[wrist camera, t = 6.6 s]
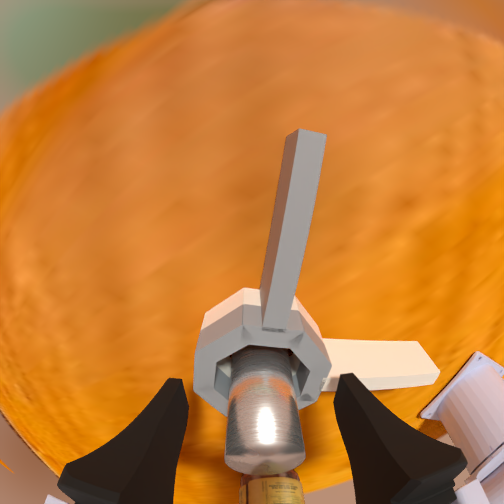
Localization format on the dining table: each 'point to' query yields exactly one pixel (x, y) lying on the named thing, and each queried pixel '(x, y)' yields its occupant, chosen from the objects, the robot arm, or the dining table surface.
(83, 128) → the dining table surface
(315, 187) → the hinge
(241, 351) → the hinge pin
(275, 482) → the sauce bottle
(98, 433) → the dining table surface
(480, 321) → the dining table surface
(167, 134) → the dining table surface
